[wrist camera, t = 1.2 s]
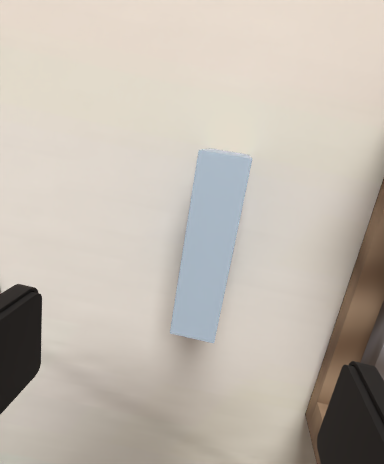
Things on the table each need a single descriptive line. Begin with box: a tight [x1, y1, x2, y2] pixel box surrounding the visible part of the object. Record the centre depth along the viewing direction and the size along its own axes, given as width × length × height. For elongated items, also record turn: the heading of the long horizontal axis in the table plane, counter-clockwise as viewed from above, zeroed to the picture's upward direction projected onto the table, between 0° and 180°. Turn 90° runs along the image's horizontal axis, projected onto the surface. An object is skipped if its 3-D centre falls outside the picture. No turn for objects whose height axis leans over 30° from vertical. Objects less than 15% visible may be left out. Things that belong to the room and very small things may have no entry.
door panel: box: [170, 149, 252, 343], centre depth 23 cm, size 12×3×8 cm, turn 171°
